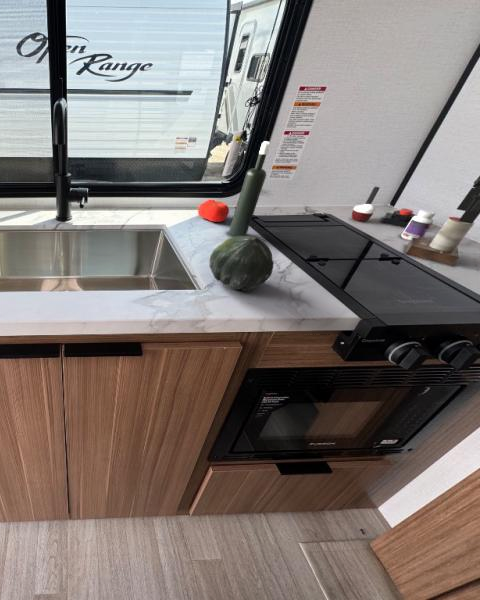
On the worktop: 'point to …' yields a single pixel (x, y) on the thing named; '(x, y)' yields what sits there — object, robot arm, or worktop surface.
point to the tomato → (213, 210)
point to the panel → (431, 252)
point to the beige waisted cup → (450, 234)
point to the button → (406, 212)
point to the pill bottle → (418, 225)
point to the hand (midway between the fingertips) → (463, 216)
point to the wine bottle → (249, 195)
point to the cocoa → (365, 208)
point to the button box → (397, 219)
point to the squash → (242, 262)
